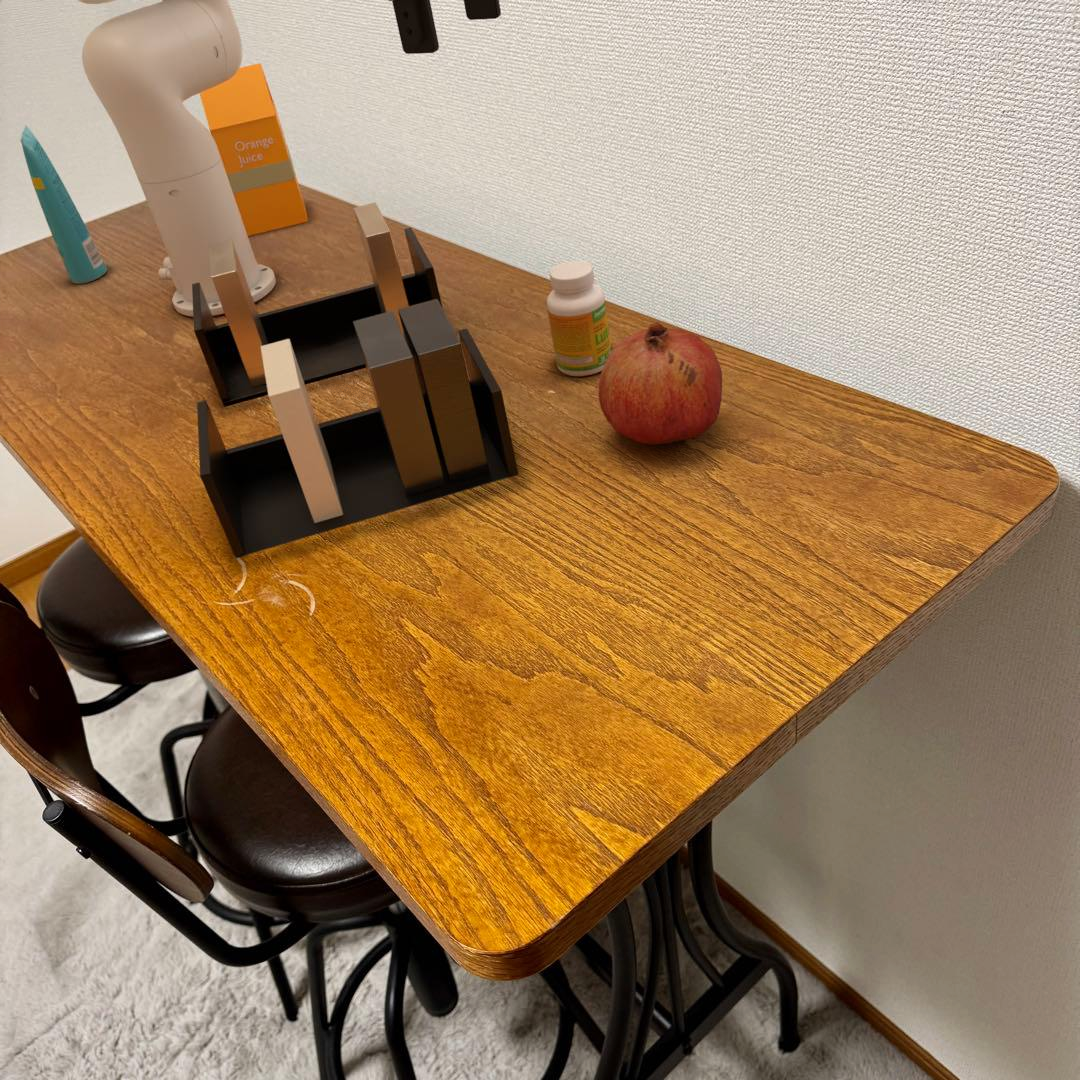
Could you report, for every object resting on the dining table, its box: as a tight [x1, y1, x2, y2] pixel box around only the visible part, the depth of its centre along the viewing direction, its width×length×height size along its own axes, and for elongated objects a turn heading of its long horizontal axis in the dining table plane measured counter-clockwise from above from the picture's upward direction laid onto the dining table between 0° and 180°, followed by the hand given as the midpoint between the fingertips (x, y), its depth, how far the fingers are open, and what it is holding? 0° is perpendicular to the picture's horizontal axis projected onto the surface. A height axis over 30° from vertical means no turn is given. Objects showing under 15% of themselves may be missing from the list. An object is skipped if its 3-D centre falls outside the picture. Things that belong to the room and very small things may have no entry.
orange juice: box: [198, 62, 309, 237], centre depth 141 cm, size 8×9×20 cm
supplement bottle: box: [546, 260, 612, 377], centre depth 98 cm, size 5×5×10 cm
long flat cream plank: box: [261, 339, 343, 523], centre depth 85 cm, size 2×9×12 cm, turn 16°
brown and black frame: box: [192, 202, 444, 408], centre depth 107 cm, size 24×12×13 cm, turn 106°
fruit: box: [598, 321, 723, 445], centre depth 86 cm, size 11×10×10 cm
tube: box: [19, 125, 108, 284], centre depth 135 cm, size 7×5×19 cm, turn 23°
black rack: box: [196, 299, 519, 559], centre depth 86 cm, size 24×12×13 cm, turn 106°
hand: (454, 34), depth 87 cm, fingers open, 9 cm apart
